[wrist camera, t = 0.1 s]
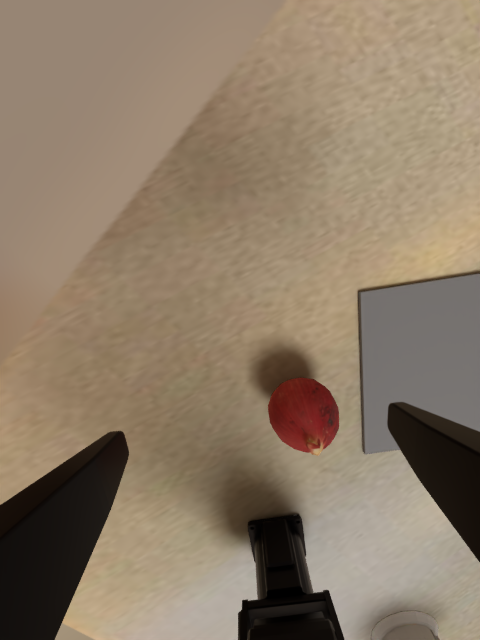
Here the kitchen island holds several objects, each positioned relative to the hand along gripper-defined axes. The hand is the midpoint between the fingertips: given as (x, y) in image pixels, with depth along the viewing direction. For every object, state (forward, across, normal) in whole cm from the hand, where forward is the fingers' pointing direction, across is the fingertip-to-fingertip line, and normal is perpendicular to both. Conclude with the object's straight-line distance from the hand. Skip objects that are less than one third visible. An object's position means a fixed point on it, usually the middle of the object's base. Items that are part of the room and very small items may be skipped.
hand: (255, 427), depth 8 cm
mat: (+14, -19, +7) cm, 25 cm away
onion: (+15, -4, +8) cm, 17 cm away
